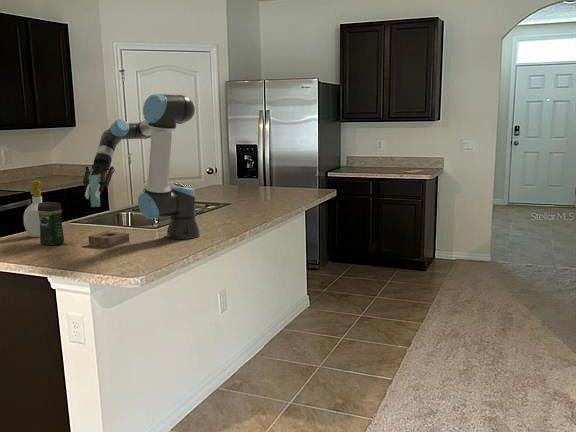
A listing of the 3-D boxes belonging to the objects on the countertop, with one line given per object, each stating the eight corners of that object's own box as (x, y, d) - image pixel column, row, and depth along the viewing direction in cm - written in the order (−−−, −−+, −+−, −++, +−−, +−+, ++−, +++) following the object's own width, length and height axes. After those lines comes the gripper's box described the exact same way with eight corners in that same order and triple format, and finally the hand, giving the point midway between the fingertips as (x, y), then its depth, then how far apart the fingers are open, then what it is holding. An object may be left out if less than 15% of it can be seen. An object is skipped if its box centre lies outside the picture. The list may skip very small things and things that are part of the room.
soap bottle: (32, 239, 255) (27, 182, 251) (20, 237, 260) (15, 181, 256) (60, 234, 267) (56, 179, 262) (48, 232, 272) (44, 178, 267)
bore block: (129, 242, 250) (128, 233, 249) (110, 247, 239) (110, 238, 239) (108, 239, 255) (107, 231, 254) (88, 245, 244) (88, 236, 243)
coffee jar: (67, 242, 249) (64, 201, 246) (54, 246, 242) (50, 203, 239) (50, 241, 253) (47, 200, 250) (37, 244, 245) (33, 202, 242)
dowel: (102, 205, 257) (100, 175, 255) (96, 207, 253) (93, 176, 251) (95, 205, 259) (93, 175, 256) (89, 206, 255) (87, 175, 253)
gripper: (123, 162, 267) (112, 202, 254) (88, 162, 269) (76, 202, 255) (118, 152, 261) (107, 192, 248) (83, 152, 262) (70, 192, 249)
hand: (91, 197), depth 251 cm, fingers closed on dowel, 4 cm apart
